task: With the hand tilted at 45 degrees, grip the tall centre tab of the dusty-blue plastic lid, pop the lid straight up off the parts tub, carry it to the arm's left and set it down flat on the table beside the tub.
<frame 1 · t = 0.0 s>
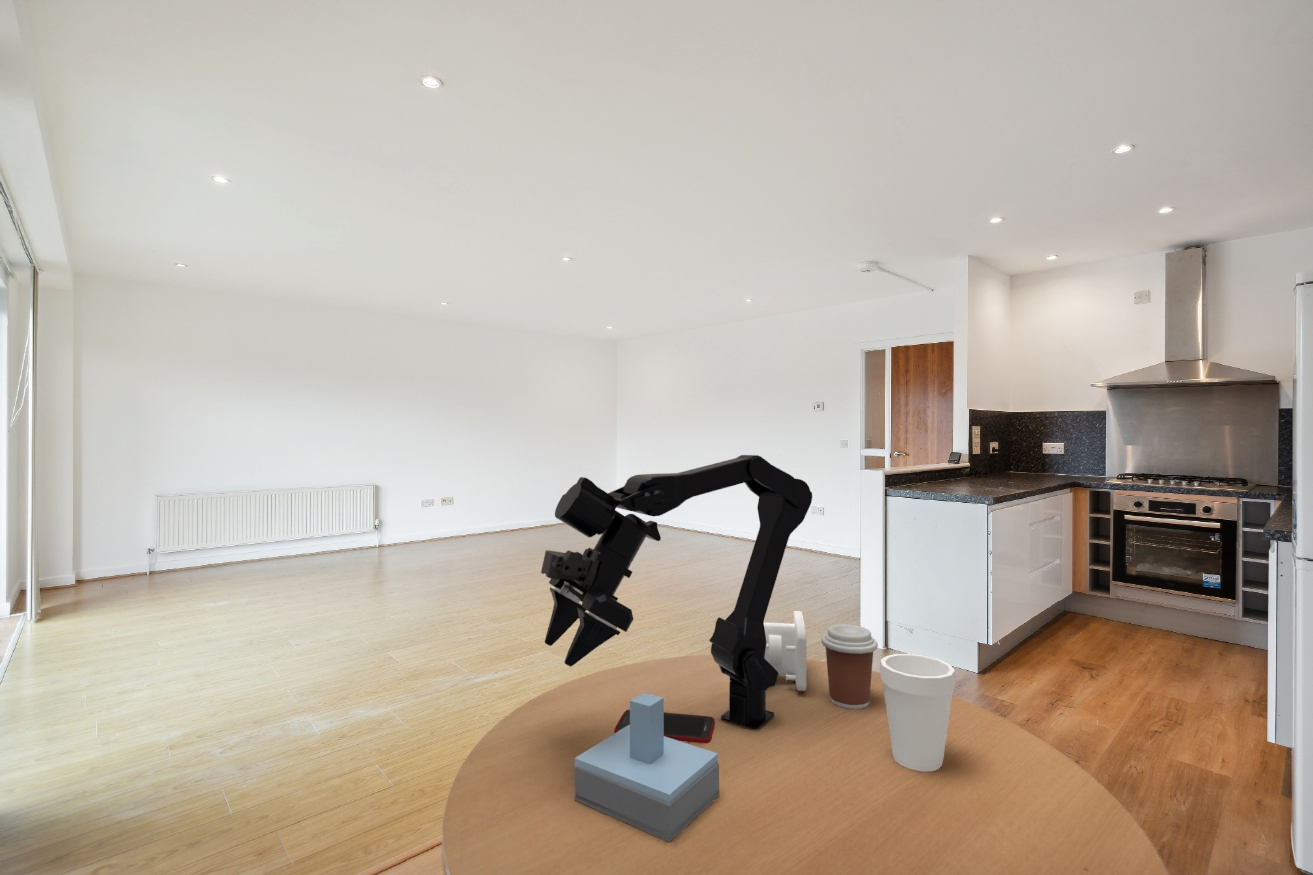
hand: (556, 654, 85), 15 cm above the table, tool tilted 35°, fingers open, 9 cm apart
foam cup: (917, 760, 86), on the table
cell phone: (665, 730, 96), on the table
cable organizer: (775, 682, 115), on the table
coffee cup: (849, 702, 106), on the table
tub lid: (646, 763, 77), point 4 cm above the table, touching parts tub
parts tub: (647, 797, 77), on the table
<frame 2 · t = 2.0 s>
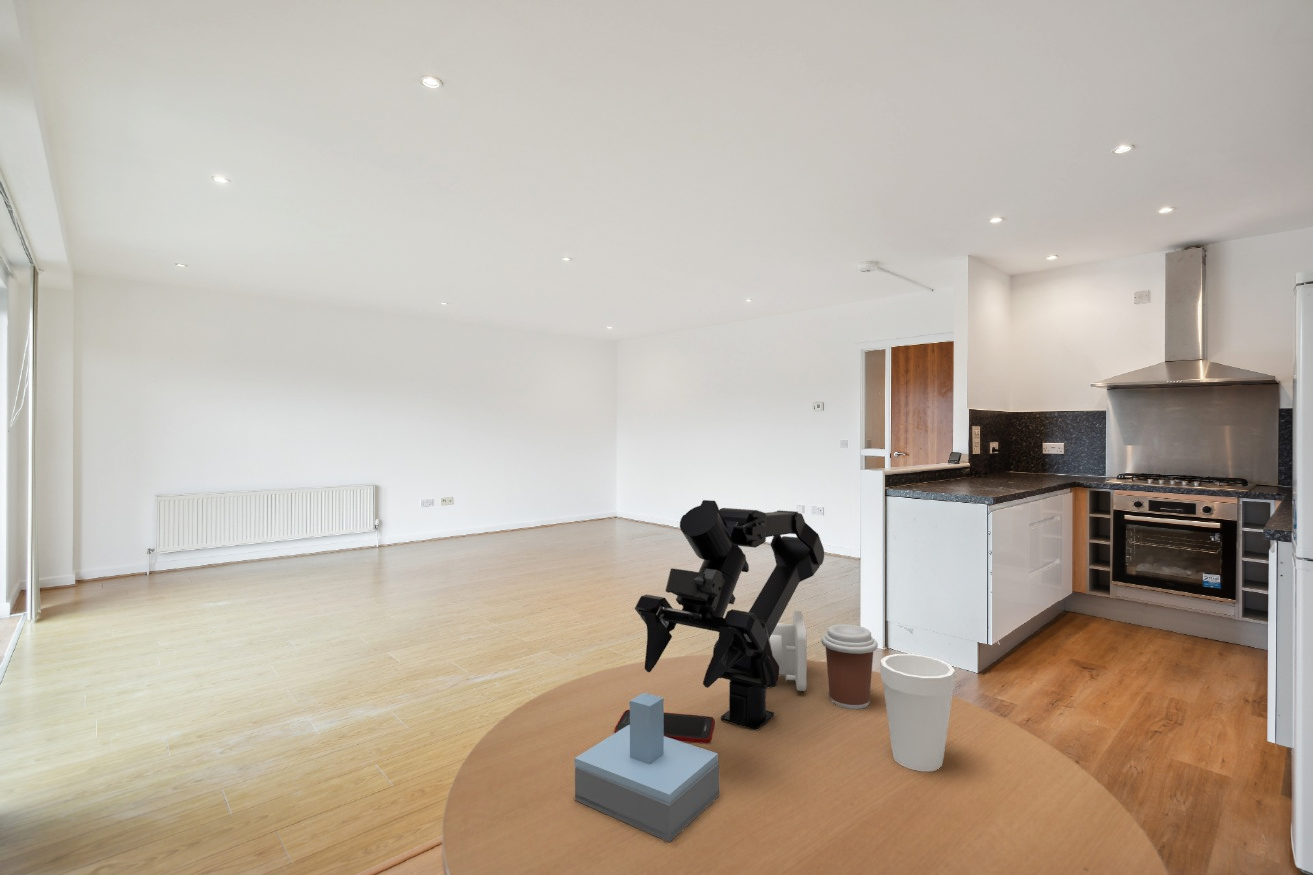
hand: (675, 678, 82), 13 cm above the table, tool tilted 45°, fingers open, 9 cm apart
nothing on the table moved.
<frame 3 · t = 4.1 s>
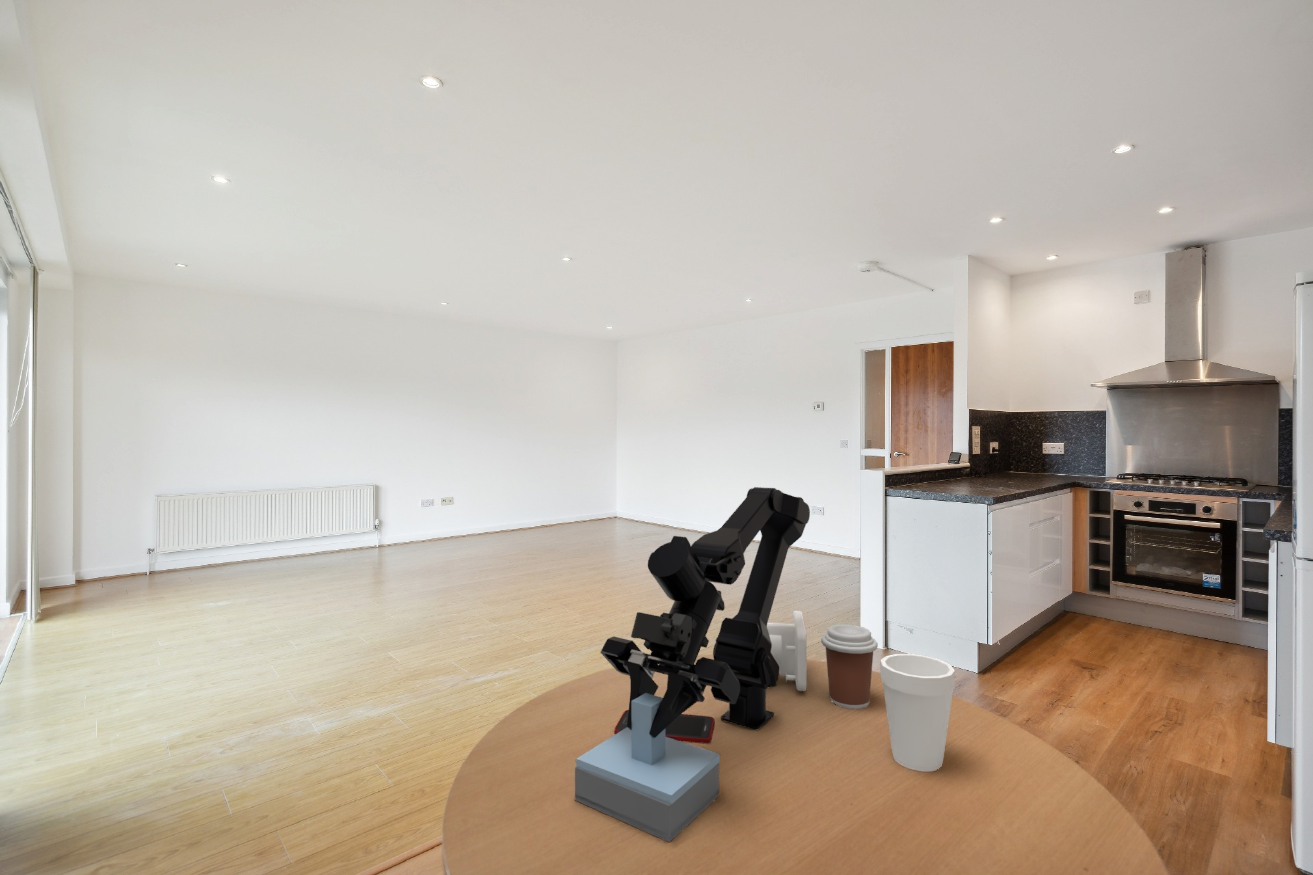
hand: (640, 732, 76), 9 cm above the table, tool tilted 45°, fingers closed on tub lid, 3 cm apart
tub lid: (648, 764, 77), point 4 cm above the table, touching gripper, parts tub
everything else where it was.
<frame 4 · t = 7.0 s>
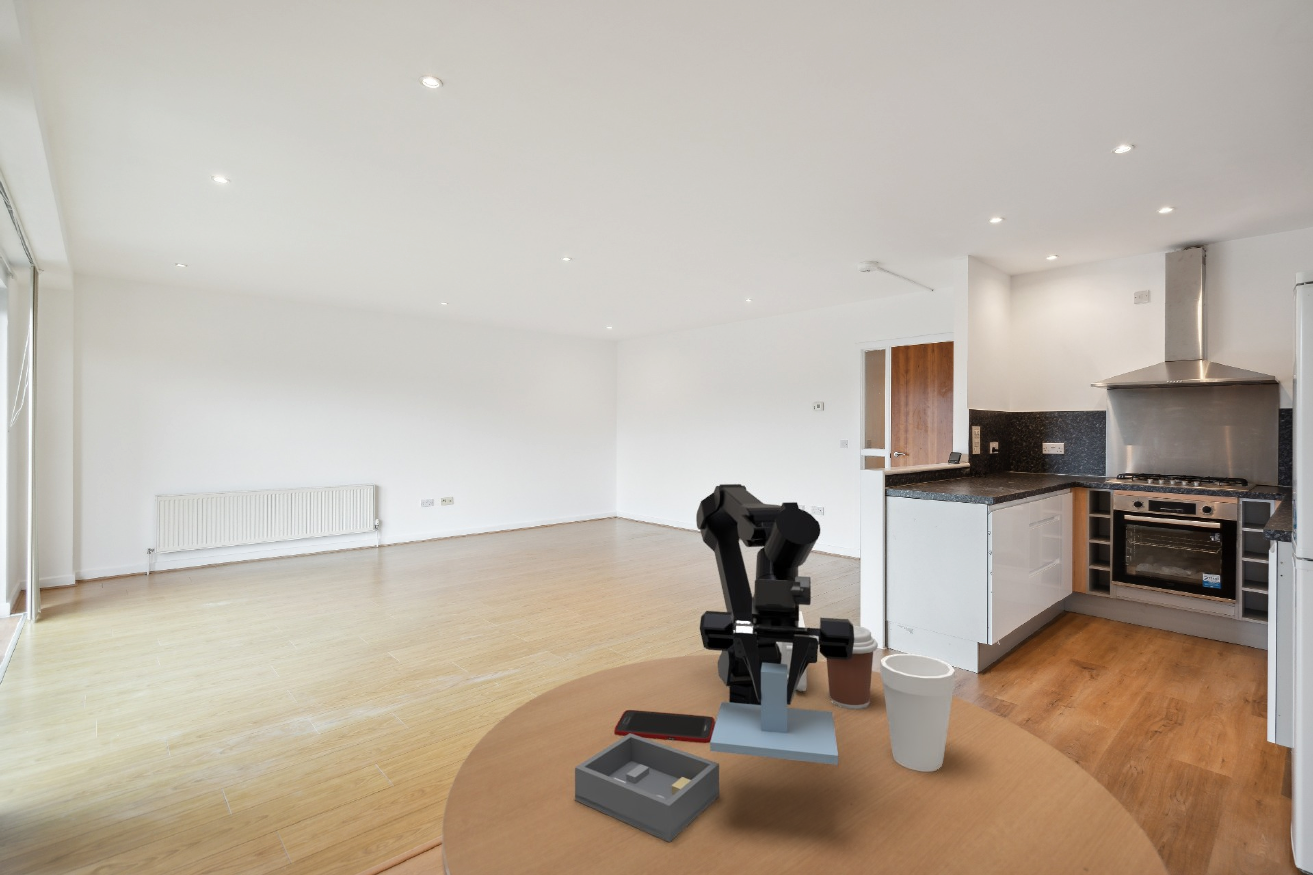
hand: (774, 701, 73), 13 cm above the table, tool tilted 45°, fingers closed on tub lid, 3 cm apart
tub lid: (774, 734, 75), point 9 cm above the table, touching gripper
everything else where it was.
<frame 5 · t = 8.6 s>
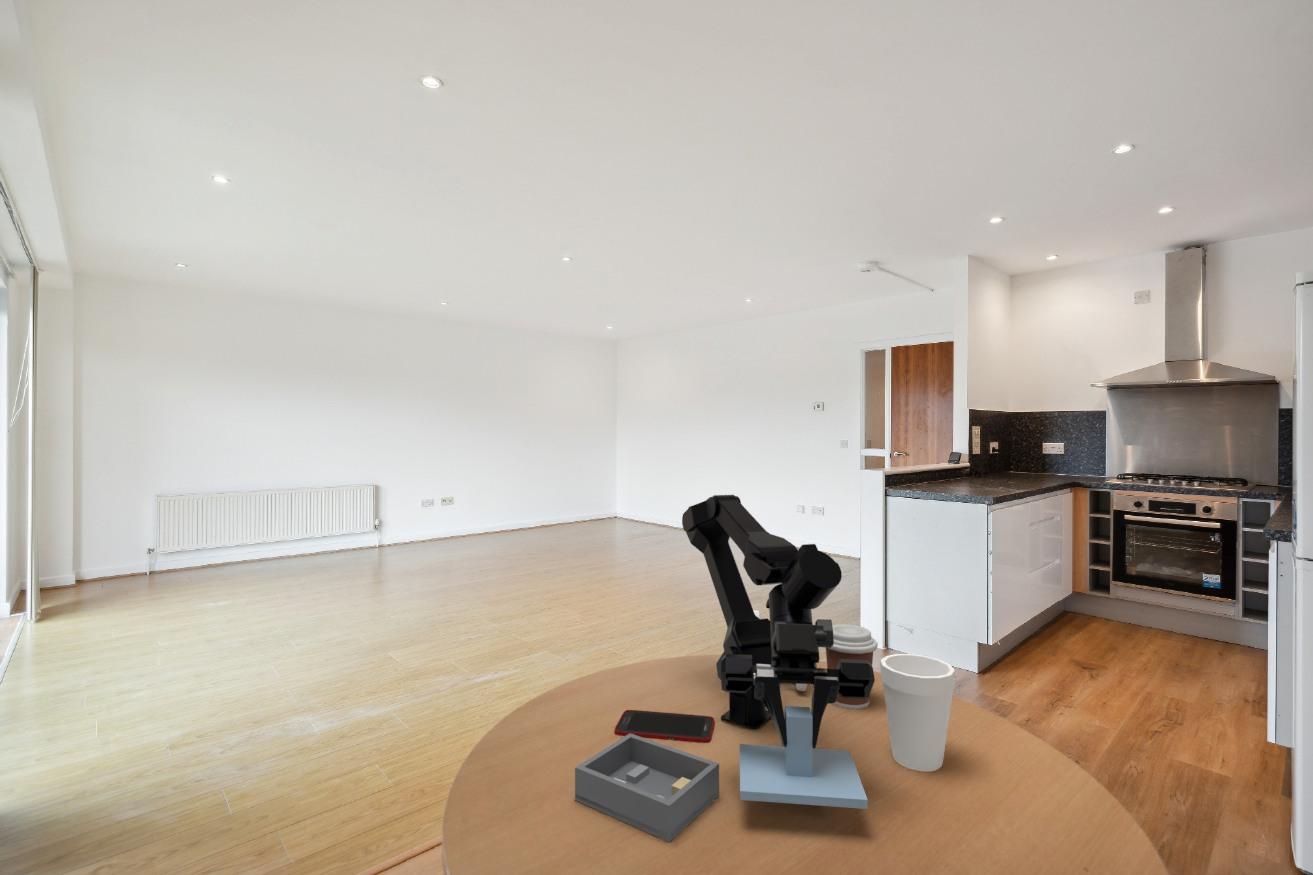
hand: (799, 746, 74), 8 cm above the table, tool tilted 45°, fingers closed on tub lid, 3 cm apart
tub lid: (798, 777, 75), point 3 cm above the table, touching gripper
everything else where it was.
when the fingers open (6 cm above the table, at t = 9.6 s): tub lid drops 2 cm, on the table.
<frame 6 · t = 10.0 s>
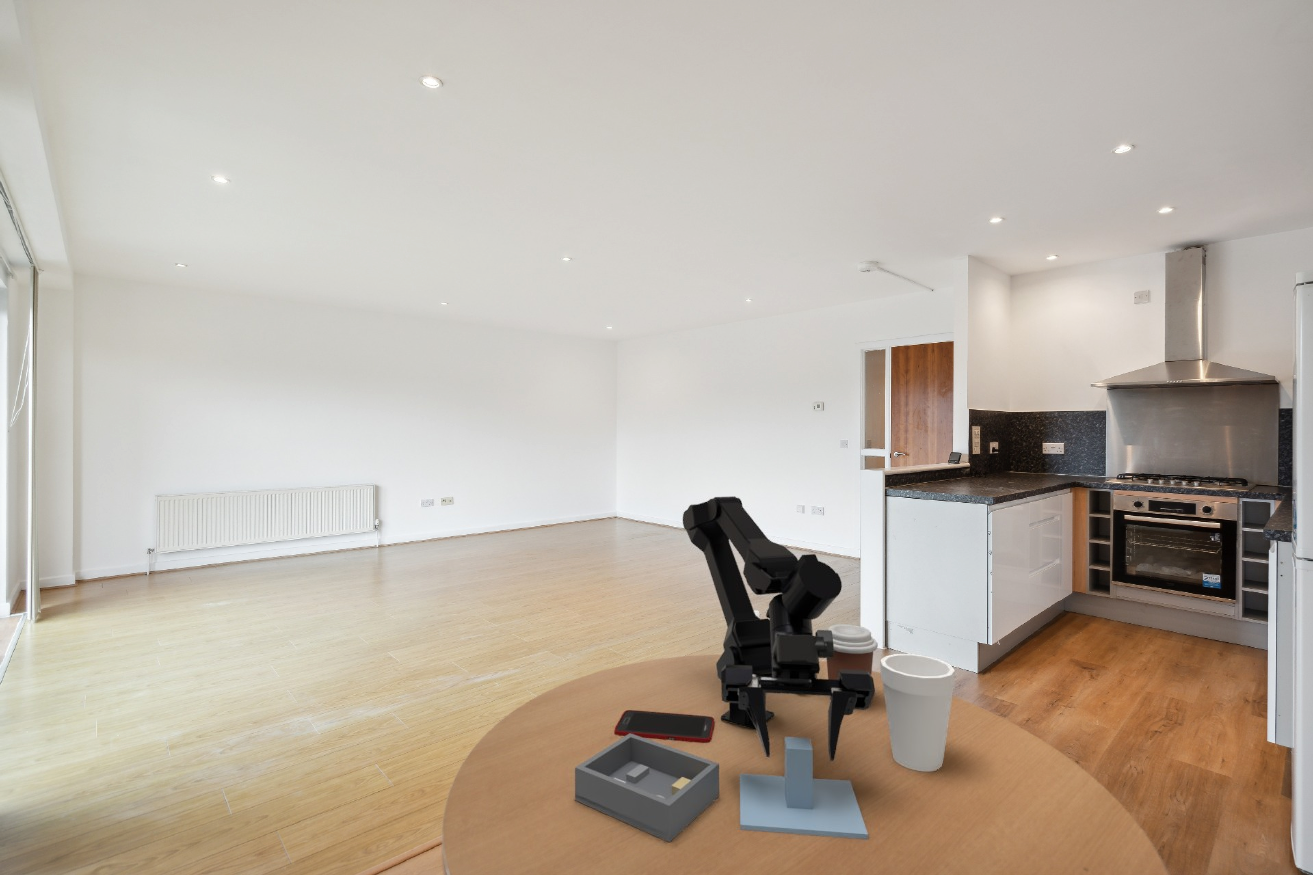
hand: (800, 757, 74), 7 cm above the table, tool tilted 45°, fingers open, 7 cm apart
tub lid: (798, 809, 75), on the table
everything else where it was.
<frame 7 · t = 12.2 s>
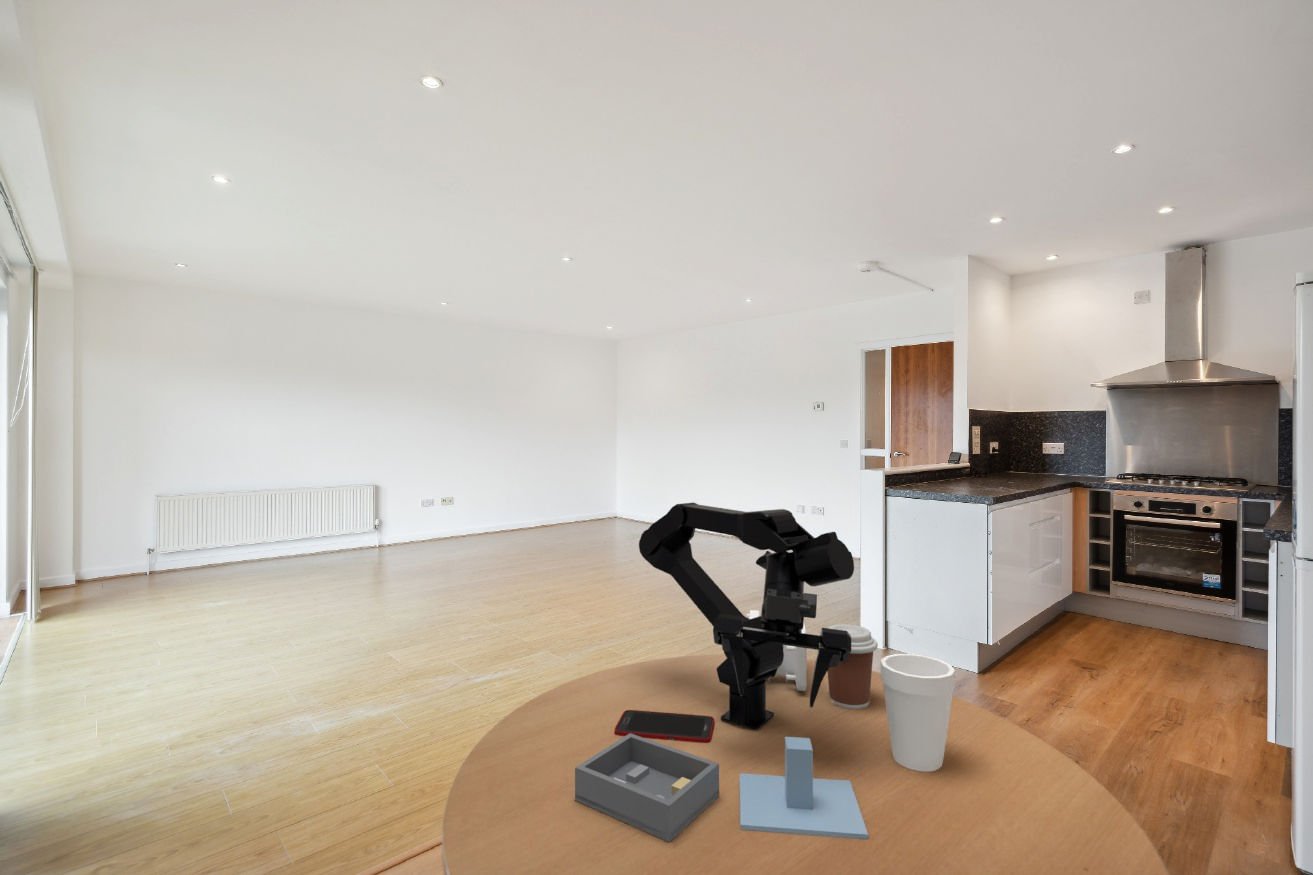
hand: (776, 700, 83), 9 cm above the table, tool tilted 35°, fingers open, 9 cm apart
nothing on the table moved.
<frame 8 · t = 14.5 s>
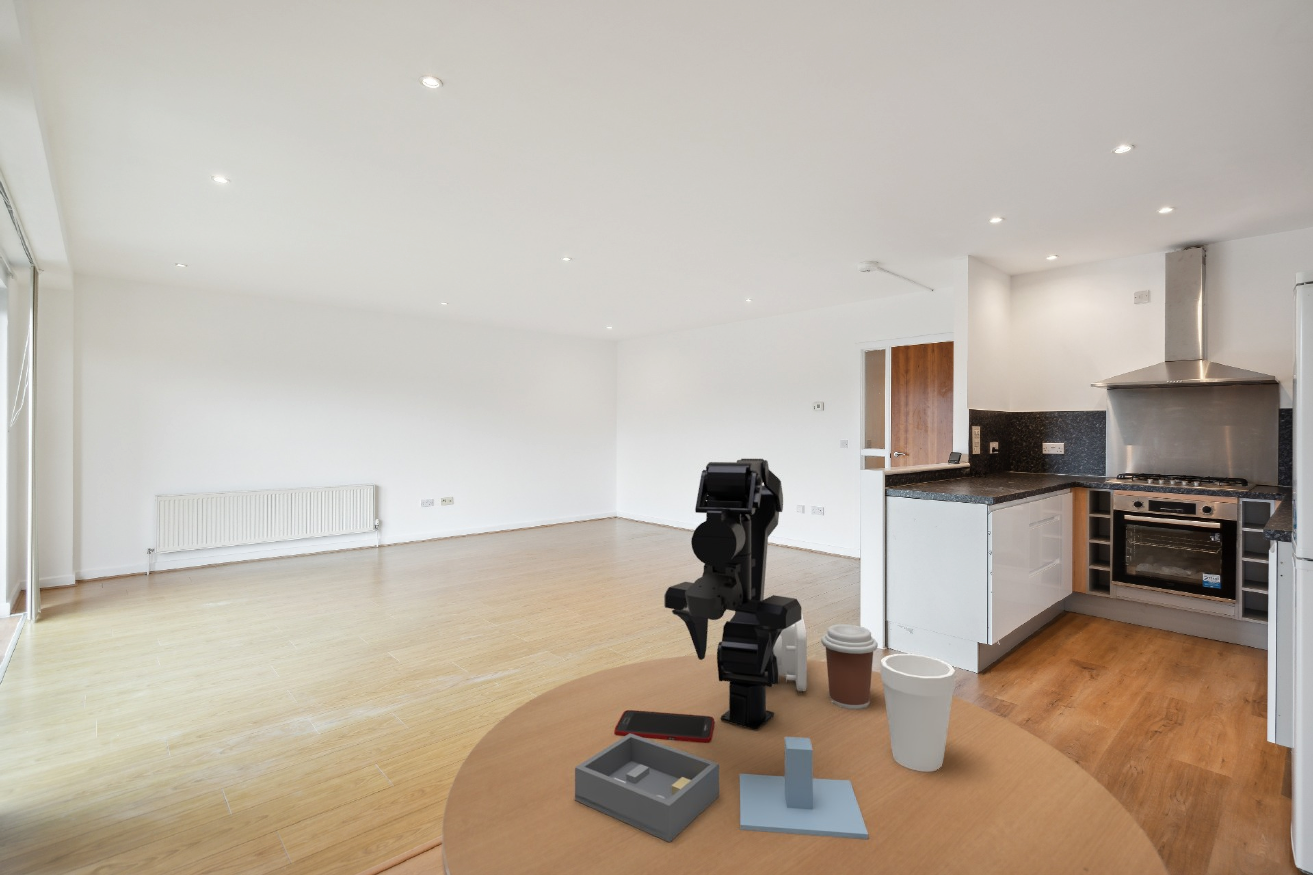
hand: (730, 665, 86), 13 cm above the table, tool pointing down, fingers open, 9 cm apart
nothing on the table moved.
at the end: tub lid touching table; tub lid inside the target area (0.2 cm from its centre), on the table; tub lid tilted 0° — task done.
